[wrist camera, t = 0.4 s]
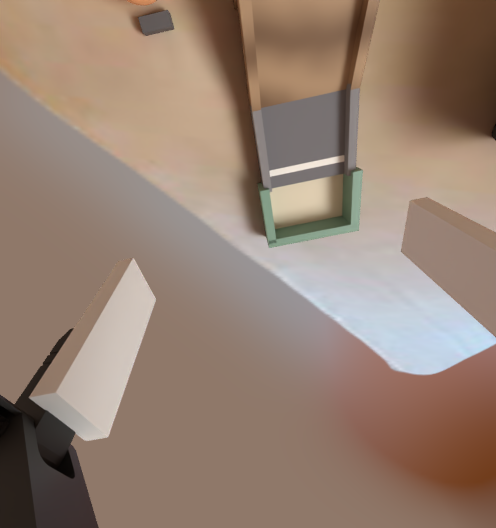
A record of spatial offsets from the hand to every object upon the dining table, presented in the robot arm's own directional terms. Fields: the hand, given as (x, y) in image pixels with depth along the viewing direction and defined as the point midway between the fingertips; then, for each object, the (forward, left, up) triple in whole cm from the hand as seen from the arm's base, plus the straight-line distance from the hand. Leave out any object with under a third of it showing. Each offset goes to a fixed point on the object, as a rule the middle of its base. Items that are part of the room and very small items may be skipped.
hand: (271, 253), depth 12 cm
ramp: (-10, +8, -25) cm, 28 cm away
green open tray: (+9, +8, -25) cm, 28 cm away
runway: (0, +8, -25) cm, 26 cm away
